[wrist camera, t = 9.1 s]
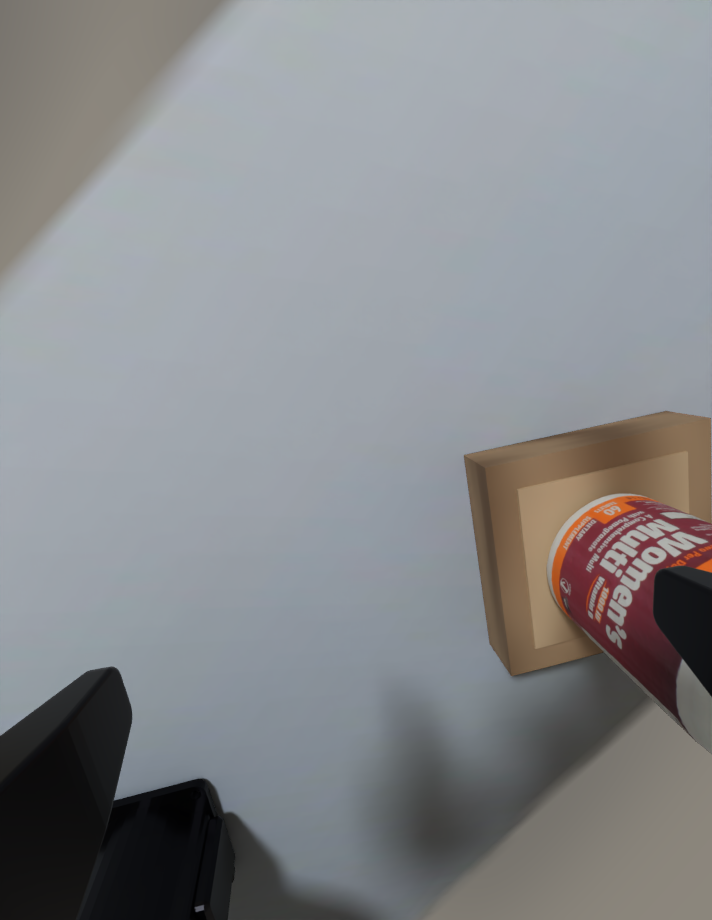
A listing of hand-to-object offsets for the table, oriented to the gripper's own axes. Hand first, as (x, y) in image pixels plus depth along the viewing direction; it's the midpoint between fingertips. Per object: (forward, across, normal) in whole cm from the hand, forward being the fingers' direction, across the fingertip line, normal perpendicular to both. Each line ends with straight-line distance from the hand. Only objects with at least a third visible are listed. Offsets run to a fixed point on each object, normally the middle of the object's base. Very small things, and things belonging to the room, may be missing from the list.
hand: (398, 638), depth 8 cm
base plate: (+14, -11, +6) cm, 18 cm away
